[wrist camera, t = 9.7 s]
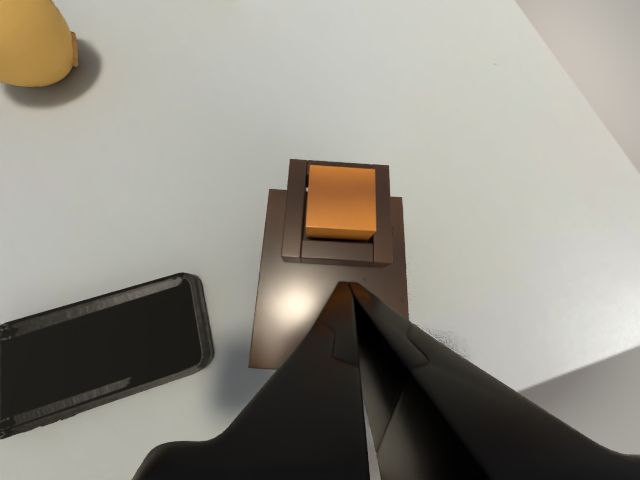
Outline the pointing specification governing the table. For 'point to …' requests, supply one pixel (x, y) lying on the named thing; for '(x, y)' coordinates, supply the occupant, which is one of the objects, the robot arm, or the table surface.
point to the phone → (101, 351)
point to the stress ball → (34, 43)
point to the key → (341, 203)
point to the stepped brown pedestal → (320, 264)
